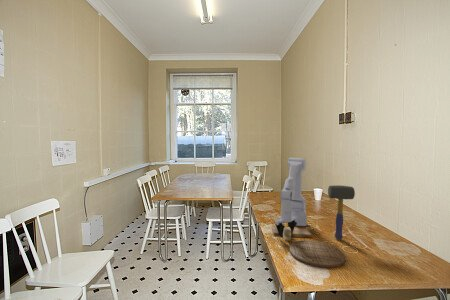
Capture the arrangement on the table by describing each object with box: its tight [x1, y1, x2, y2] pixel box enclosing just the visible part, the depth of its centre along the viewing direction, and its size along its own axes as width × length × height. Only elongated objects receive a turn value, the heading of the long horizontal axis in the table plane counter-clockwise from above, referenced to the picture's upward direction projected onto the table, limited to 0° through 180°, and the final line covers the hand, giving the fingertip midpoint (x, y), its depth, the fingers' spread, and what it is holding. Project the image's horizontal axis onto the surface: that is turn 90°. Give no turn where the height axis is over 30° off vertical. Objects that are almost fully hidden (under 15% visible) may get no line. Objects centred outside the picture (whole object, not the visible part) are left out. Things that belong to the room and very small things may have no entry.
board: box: [271, 226, 313, 238], centre depth 143 cm, size 21×9×2 cm, turn 86°
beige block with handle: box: [282, 226, 292, 241], centre depth 139 cm, size 4×14×6 cm, turn 177°
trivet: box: [289, 239, 347, 269], centre depth 118 cm, size 25×25×2 cm
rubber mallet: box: [327, 184, 356, 241], centre depth 136 cm, size 12×8×30 cm, turn 82°
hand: (285, 235), depth 136 cm, fingers open, 7 cm apart
